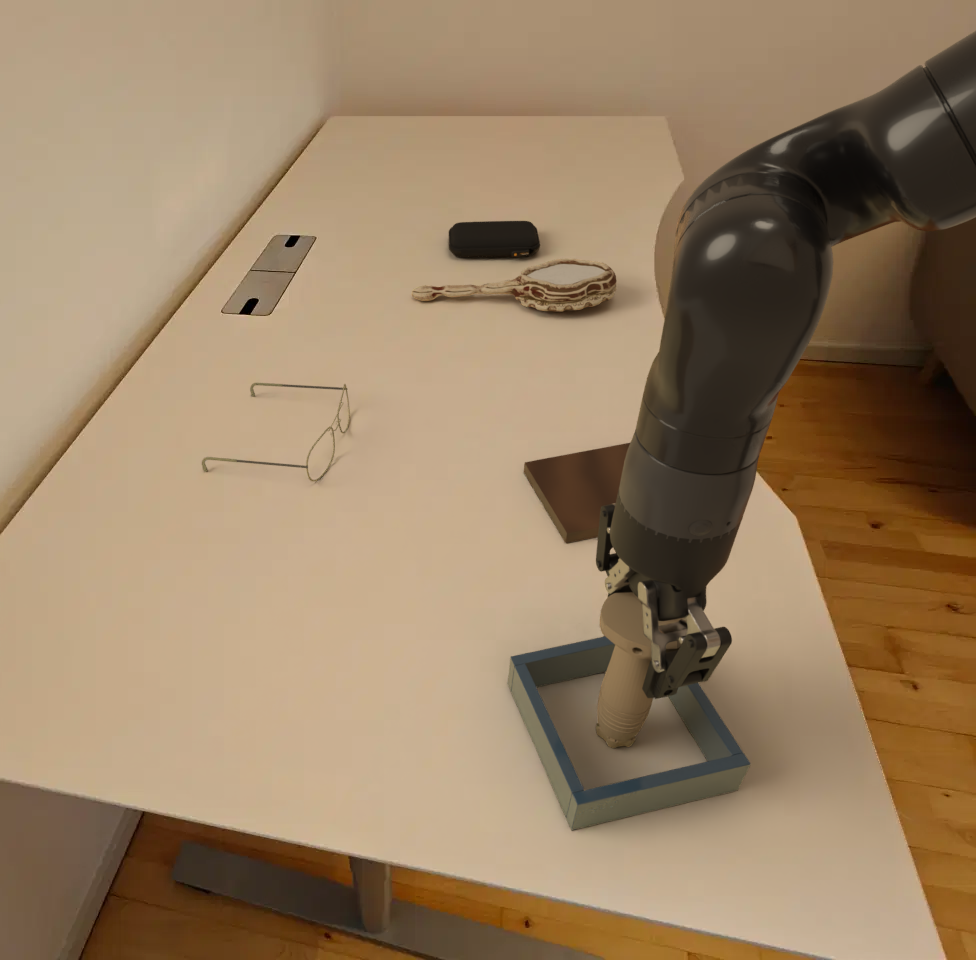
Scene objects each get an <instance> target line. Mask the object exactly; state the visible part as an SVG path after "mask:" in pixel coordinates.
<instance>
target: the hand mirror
mask: <svg viewBox="0 0 976 960" xmlns="http://www.w3.org/2000/svg"><path fill="white" fill-rule="evenodd" d="M617 282H618V281H617V275H616V273H615V271H614V270H613V268H611V267H610V266H609V265H608V264H606V263H604V262H601V261H594V260H586V259H577V258H557V259H552V260H549V261H546V262H543V263H540V264H537V265H531V266H528V267H526V268H524V269H522V271H520V274H519V275H518V276H517V277H515V278H513V279H506V280H502V281H498V282H491V283H490V282H489V283H483V284H481V285H475V284H460V285H459V284H458V285H457V284H456V285H455V284H454V285H453V284H452V285H450V284H449V285H448V284H446V285H442V286H435V285H426V284H425V285H420V286H417V287H415V288H413V289H412V290H411V296H412V298H414V299H415V300H418V301H422V302H427V301H433V300H435V299H436V298H438V297H440V296H445V297H447V298H458V297H469V296H473V295H475V294H477V295H511V296H513V297H514V298H515V300H517V301H519V302H520V305H522V306H523V307H525V308H533V309H536V310H537V311H542V312H566V311H579V310H583V309H585V308H591V307H595V306H599V305H600V304H601V303H602V302H605V301H609V300H611V299H612V298H613V297H614V296H615V292H616V291H617V290H618V289H617V288H618V287H617Z"/></svg>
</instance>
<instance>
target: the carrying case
mask: <svg viewBox="0 0 976 960" xmlns="http://www.w3.org/2000/svg"><path fill="white" fill-rule="evenodd" d="M540 248H541V241H540V237H539V232H538V228H537V227H536V226H535V225H534V223H533V222H531V221H530V220H529V221H528V220H492V221H491V220H490V221H488V220H487V221H461V222H456V223H455V224H453V225H452V226H451V227H450V228H449V230H448V250H449V252H450V253H452V254H453V256H455V257H456V258H463V259H464V258H466V259H467V258H468V259H469V258H471V259H472V258H475V259H477V258H479V259H480V258H522V257H530V256H533V255H535V254H536V253H537V252H538V251H539V250H540Z"/></svg>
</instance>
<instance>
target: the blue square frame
mask: <svg viewBox="0 0 976 960" xmlns="http://www.w3.org/2000/svg"><path fill="white" fill-rule="evenodd" d="M614 647H615V644H614V643H613V642H611V641H610V640H609V639H608V638H607V637H606V636H604V635H603V636H602V637H596V638H591V639H585V640H581V641H577V642H571V643H567V644H562V645H558V646H553V647H548V648H544V649H543V648H542V649H538V650H535V651H529V652H525V653H519V654H515V655H511V656H510V657H509V665H508V673H507V674H508V675H507V676H508V677H507V682H506V685H507V687H508V688H509V691H510V693H511V695H512V698H513V699H514V702H515V704H516V707H517V709H518V711H519V714H520V717H521V718H522V721H523V723H524V725H525V727H526V730H527V732H528V734H529V736H530V737H529V738H530V739H531V741H532V743H533V746H534V748H535V750H536V752H537V755H538V758H539V759H540V762H541V765H542V766H543V768H544V771H545V773H546V776H547V778H548V780H549V783H550V784H551V787H552V790H553V792H554V794H555V797H556V799H557V801H558V803H559V806H560V808H561V810H562V812H563V815H564V818H565V820H566V821H567V824H568V826H569V828H570V830H571V831H576V830H579V829H583V828H587V827H591V826H597V825H601V824H604V823H608V822H612V821H617V820H621V819H625V818H630V817H633V816H638V815H642V814H645V813H649V812H655V811H658V810H663V809H667V808H671V807H675V806H679V805H683V804H684V805H685V804H688V803H692V802H696V801H700V800H704V799H709V798H713V797H717V796H720V795H725V794H729V793H734V792H737V791H739V789H740V787H741V785H742V783H743V781H744V779H745V777H746V775H747V773H748V772H749V769H750V768H751V765H752V764H751V762H750V760H749V759H748V757H747V755H746V754H745V753H744V751H743V750H742V748H741V746H740V745H739V743H738V742H737V741H736V739H735V737H734V736H733V734H732V732H731V731H730V730H729V727H727V725H726V723H725V721H724V720H723V719H722V718H721V715H720V714H719V712H718V711H717V709H716V707H715V706H714V704H713V703H712V702H711V701H710V700H711V699H709V697H708V696H707V694H706V693H705V691H704V689H703V688H702V686H701V685H700V683H695V684H691V685H686V686H682V687H678V690H677V693H676V694H674V695H672V696H668V699H669V700H670V702H671V703H672V705H673V706H674V709H675V710H676V711H677V713H678V715H679V717H680V718H681V719H682V722H683V723H684V724H685V726H686V728H687V730H688V731H689V733H690V734H691V736H692V738H693V740H694V741H695V744H696V745H697V746H698V748H699V750H700V751H701V753H702V755H703V757H704V758H705V759H706V761H703V762H699V763H695V764H690V765H685V766H682V767H677V768H674V769H673V768H672V769H669V770H665V771H660V772H657V773H653V774H648V775H645V776H644V775H643V776H639V777H634V778H631V779H627V780H623V781H618V782H614V783H613V782H612V783H610V784H606V785H601V786H597V787H596V786H595V787H592V788H589V789H584V786H583V784H582V782H581V779H580V777H579V775H578V774H577V773H578V772H577V771H576V769H575V767H574V765H573V763H572V761H571V759H570V756H569V755H568V752H567V750H566V747H565V745H564V744H563V743H564V742H563V741H562V738H561V737H560V735H559V733H558V731H557V729H556V726H555V725H554V724H555V723H554V722H553V720H552V717H551V715H550V713H549V711H548V709H547V707H546V705H545V702H544V700H543V698H542V696H541V694H540V691H539V690H538V687H542V686H549V685H552V684H557V683H561V682H565V681H570V680H575V679H580V678H583V677H589V676H593V675H597V674H602V673H606V671H607V668H608V665H609V663H610V660H611V657H612V654H613V651H614Z"/></svg>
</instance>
